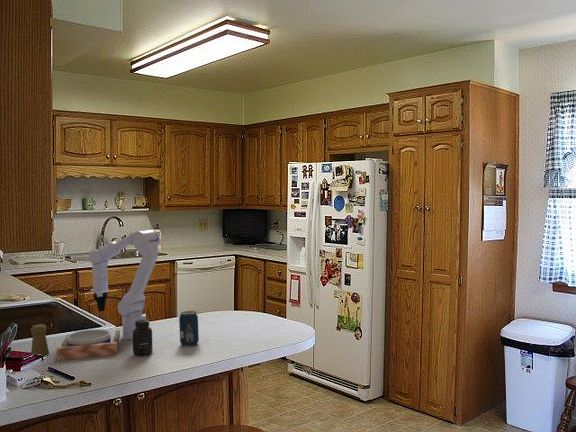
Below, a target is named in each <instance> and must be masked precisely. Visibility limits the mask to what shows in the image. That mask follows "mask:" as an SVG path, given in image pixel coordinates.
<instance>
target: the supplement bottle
mask: <svg viewBox="0 0 576 432" xmlns="http://www.w3.org/2000/svg"><path fill="white" fill-rule="evenodd" d="M135 327H136V328H135V329H134V330H133V339H132V354H133V356H134V357H148V356H151V355H152V354H153V351H154V350H153V348H154V347H153V346H154V345H153V329H152V327H150V320H149V319H146V320H137V321H135Z"/></svg>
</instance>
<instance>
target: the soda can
mask: <svg viewBox="0 0 576 432" xmlns="http://www.w3.org/2000/svg"><path fill="white" fill-rule="evenodd" d="M178 322H179V324H178V325H179V343H180V344H181V345H182V346H183V347H194V346H196V345H197V344H199V343H198V342H199V340H200V338H199V316H198V314H197V312H196V311H194V310H190V311H189V310H187V311H182V312H180V316H179V321H178Z"/></svg>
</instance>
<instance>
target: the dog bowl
mask: <svg viewBox="0 0 576 432" xmlns="http://www.w3.org/2000/svg"><path fill="white" fill-rule="evenodd" d="M67 335H68V336H67ZM67 335H66V336H67V346H77V345H88V344H99V343H109V342H112V340H111V338H112V337H111V336H112V335H111V330H110V331H109V330H107V329H100V328H98V329H96V328H95V329H94V328H93V329H85V330H80V331H75V332H72V333H70V334H67Z"/></svg>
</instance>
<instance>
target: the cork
mask: <svg viewBox="0 0 576 432" xmlns="http://www.w3.org/2000/svg"><path fill="white" fill-rule="evenodd" d="M47 329H48V327H47V325H45V324H44V323H43V324H41V323H40V324H36V325H32V327H31V328H30V332H31V335H32V339H31V351H30V354H31V353H36V354H41V355H47V356H49V355H50V351H49V345H48V341H47V335H46V333H47V331H48V330H47Z"/></svg>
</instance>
